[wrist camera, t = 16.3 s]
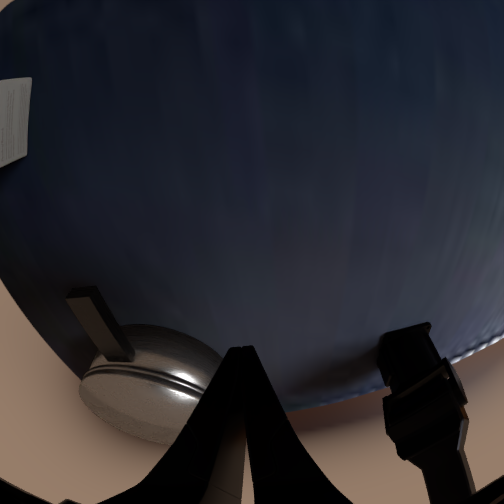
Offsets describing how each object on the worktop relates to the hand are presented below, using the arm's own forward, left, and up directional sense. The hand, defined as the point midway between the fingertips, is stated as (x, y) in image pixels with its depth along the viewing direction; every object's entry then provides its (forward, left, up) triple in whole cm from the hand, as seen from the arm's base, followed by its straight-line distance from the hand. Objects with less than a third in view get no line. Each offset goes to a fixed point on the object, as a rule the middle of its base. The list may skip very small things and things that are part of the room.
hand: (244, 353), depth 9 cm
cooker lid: (+14, +19, -7) cm, 25 cm away
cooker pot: (+14, +15, -13) cm, 24 cm away
